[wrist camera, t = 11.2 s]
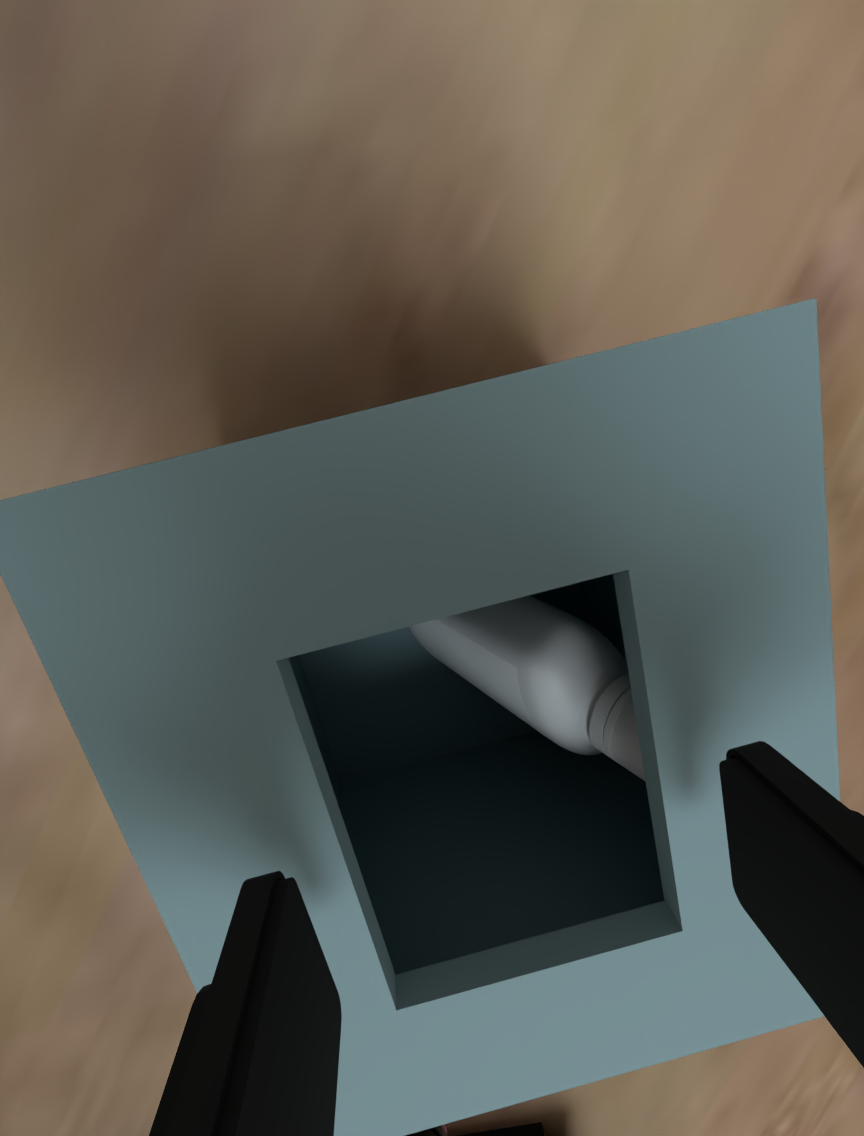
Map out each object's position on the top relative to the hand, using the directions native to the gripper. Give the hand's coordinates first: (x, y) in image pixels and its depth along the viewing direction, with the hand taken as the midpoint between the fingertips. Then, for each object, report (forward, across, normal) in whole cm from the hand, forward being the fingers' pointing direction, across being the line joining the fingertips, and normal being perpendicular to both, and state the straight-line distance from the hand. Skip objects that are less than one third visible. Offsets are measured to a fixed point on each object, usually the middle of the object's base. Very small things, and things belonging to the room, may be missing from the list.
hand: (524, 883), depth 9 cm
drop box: (+16, 0, 0) cm, 16 cm away
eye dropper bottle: (+14, 0, 0) cm, 14 cm away
